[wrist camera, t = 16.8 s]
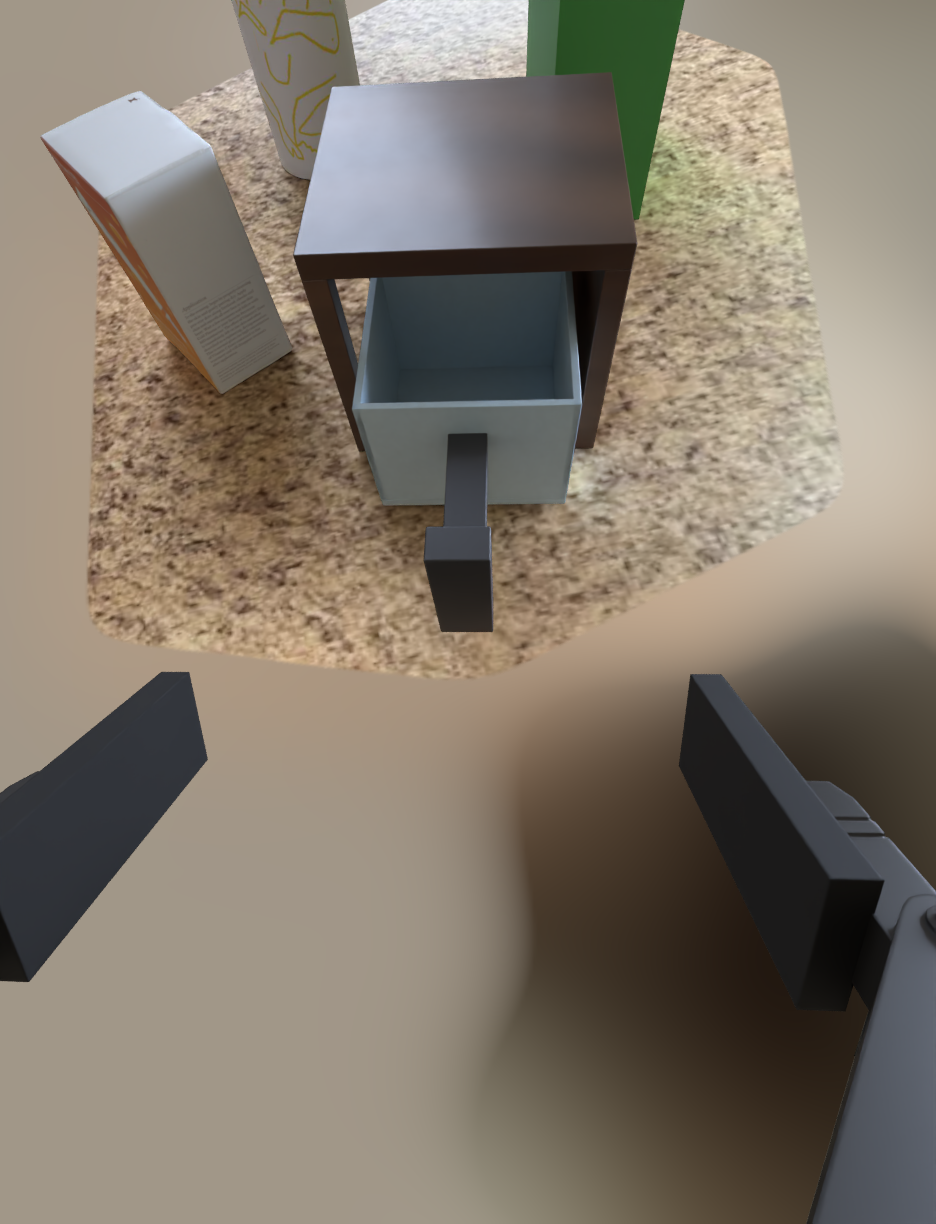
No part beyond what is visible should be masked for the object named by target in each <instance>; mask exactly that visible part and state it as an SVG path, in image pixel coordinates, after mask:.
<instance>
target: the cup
mask: <svg viewBox="0 0 936 1224" xmlns="http://www.w3.org/2000/svg"><path fill="white" fill-rule="evenodd" d="M231 1H232V4H233V7H234V11H235V14H236V17H237V20H238V24H239V27H240V30H241V33H242V37H243V40H244V43H245V46H246V50H247V53H248V56H249V59H250V63H251V66H252V69H253V72H254V76H255V79H256V82H257V85H258V89H259V92H260V95H261V98H262V102H263V105H264V108H265V111H266V115H267V118H268V121H269V125H270V128H271V131H272V134H273V138H274V141H275V144H276V147H277V151H278V154H279V157H280V160H281V163H282V166H283V167H284V169H285V170H286V171H287V172H289V173H290V174H292V175H294V176H296V177H299V178H303V179H309V180H311V176H312V171H313V167H314V163H315V158H316V154H317V150H318V145H319V141H320V137H321V132H322V128H323V124H324V119H325V115H326V111H327V106H328V102H329V97H330V93H331V89H332V87H342V86H360V83H359V77H358V72H357V66H356V61H355V55H354V49H353V44H352V38H351V32H350V27H349V21H348V16H347V10H346V4H345V0H231Z"/></svg>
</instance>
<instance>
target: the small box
mask: <svg viewBox="0 0 936 1224" xmlns="http://www.w3.org/2000/svg"><path fill="white" fill-rule="evenodd" d="M41 140H42V141H43V143H44V144H45V146H46V148H47V149H48V151H49V152H50V154H51V155H52V157H53V158H54V160H55V161H56V163H57V165H58V166H59V168H60V169H61V171H62V173H63V174H64V176H65V177H66V179H67V180H68V182H69V184H70V185H71V187H72V188H73V190H74V191H75V193H76V195H77V196H78V198H79V199H80V201H81V203H82V204H83V206H84V208H85V209H86V211H87V212H88V214H89V216H90V217H91V219H92V220H93V222H94V224H95V225H96V227H97V228H98V230H99V232H100V233H101V235H102V236H103V238H104V240H105V241H106V243H107V244H108V246H109V248H110V249H111V251H112V252H113V254H114V255H115V257H116V259H117V260H118V262H119V263H120V265H121V266H122V268H123V270H124V271H125V273H126V274H127V276H128V278H129V279H130V281H131V282H132V284H133V285H134V287H135V289H136V290H137V292H138V294H139V295H140V297H141V299H142V300H143V302H144V304H145V305H146V307H147V309H148V310H149V312H150V313H151V315H152V317H153V318H154V320H155V321H156V323H157V325H158V326H159V328H160V329H161V331H162V332H163V334H164V336H165V337H166V338H167V339H168V340H169V341H170V342H171V343H173V344H174V345H175V346H176V347H177V348H178V349H179V350H180V351H181V352H182V353H183V355H184V356H185V357H186V358H187V359H188V360H189V361H190V362H191V363H192V364H193V365H194V366H195V367H196V368H197V369H198V370H199V371H200V372H201V374H202V375H203V376H204V377H205V378H206V379H207V380H208V381H209V382H210V383H211V384H212V386H213V387H214V388H215V389H216V390H217V391H218V392H219V393H221V394H224V393H225V392H227V391H228V390H230V389H231V388H233V387H235V386H236V385H238V384H239V383H241V382H243V381H244V380H246V379H247V378H249V377H250V376H252V375H254V374H255V373H257V372H259V371H260V370H262V369H263V368H265V367H267V366H268V365H270V364H272V363H273V362H275V361H276V360H278V359H280V358H281V357H283V356H284V355H286V354H287V353H289V352H290V351H292V346H291V343H290V341H289V338H288V336H287V334H286V331H285V329H284V326H283V324H282V321H281V319H280V316H279V314H278V312H277V309H276V307H275V304H274V302H273V299H272V297H271V294H270V292H269V289H268V287H267V284H266V282H265V279H264V277H263V274H262V272H261V269H260V266H259V264H258V261H257V259H256V257H255V254H254V252H253V249H252V247H251V244H250V242H249V240H248V237H247V235H246V232H245V230H244V227H243V225H242V222H241V220H240V217H239V215H238V212H237V210H236V207H235V205H234V202H233V200H232V197H231V195H230V192H229V190H228V187H227V185H226V182H225V180H224V177H223V175H222V173H221V170H220V168H219V165H218V163H217V160H216V158H215V155H214V153H213V150H212V148H211V146H210V145H209V144H208V143H207V142H206V141H204V140H203V139H202V138H201V137H199V136H198V135H197V134H196V133H195V132H193V131H192V130H191V129H190V128H188V127H187V126H186V125H185V124H184V123H183V122H182V121H181V120H180V119H179V118H178V117H176V116H175V115H174V114H173V113H171V112H169V111H168V110H166V109H164V108H163V107H161V106H160V105H159V104H157V103H156V102H155V101H153V100H152V99H151V98H149V97H148V96H147V95H145V94H144V93H143V92H142V91H138V92H134V93H132V94H129V95H126V96H124V97H121V98H119V99H117V100H114V101H112V102H110V103H108V104H106V105H103V106H101V107H99V108H97V109H95V110H92V111H90V112H88V113H86V114H84V115H82V116H79V117H78V118H76V119H74V120H71V121H69V122H67V123H65V124H63V125H61V126H59V127H57V128H55V129H53V130H51V131H49V132H47V133H45V134H43V135H41Z"/></svg>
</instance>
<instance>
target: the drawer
mask: <svg viewBox="0 0 936 1224" xmlns="http://www.w3.org/2000/svg"><path fill="white" fill-rule="evenodd" d="M581 408H582V398H581V385H580V371H579V358H578V345H577V331H576V318H575V305H574V292H573V278H572V271H565V272H535V273H504V274H474V275H444V276H414V277H384V278H370V285H369V292H368V299H367V306H366V313H365V321H364V328H363V335H362V342H361V349H360V356H359V363H358V370H357V377H356V384H355V391H354V398H353V406H352V411H353V414H354V417H355V420H356V423H357V427H358V430H359V433H360V436H361V439H362V442H363V445H364V448H365V452H366V455H367V458H368V461H369V464H370V467H371V470H372V473H373V477H374V480H375V483H376V486H377V489H378V492H379V495H380V498H381V501H382V504H383V505H444V524H443V527H426V531H425V547H424V564H425V568H426V572H427V576H428V580H429V584H430V588H431V592H432V596H433V600H434V604H435V608H436V613H437V617H438V621H439V625H440V629H441V632H493V577H492V543H491V527H489V526H487V504H564V503H565V500H566V495H567V489H568V483H569V478H570V472H571V466H572V460H573V454H574V448H575V443H576V437H577V431H578V425H579V419H580V414H581Z"/></svg>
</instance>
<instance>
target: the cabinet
mask: <svg viewBox="0 0 936 1224" xmlns="http://www.w3.org/2000/svg"><path fill="white" fill-rule="evenodd" d="M636 247H637V238H636V232H635V225H634V218H633V212H632V205H631V198H630V192H629V185H628V178H627V172H626V165H625V158H624V152H623V145H622V139H621V132H620V125H619V119H618V112H617V105H616V99H615V92H614V85H613V79H612V73H611V72H607V73H588V74H569V75H550V76H531V77H512V78H493V79H475V80H456V81H437V82H418V83H399V84H380V85H361V86H342V87H332V89H331V93H330V97H329V102H328V106H327V111H326V115H325V119H324V124H323V128H322V132H321V137H320V141H319V145H318V150H317V154H316V158H315V163H314V167H313V171H312V176H311V180H310V185H309V189H308V193H307V198H306V202H305V206H304V211H303V215H302V219H301V224H300V228H299V232H298V237H297V241H296V246H295V250H294V254H293V256H294V259H295V262H296V265H297V268H298V271H299V274H300V277H301V280H302V283H303V286H304V289H305V292H306V295H307V298H308V301H309V304H310V307H311V310H312V313H313V316H314V319H315V322H316V325H317V328H318V331H319V334H320V337H321V340H322V343H323V346H324V349H325V352H326V355H327V358H328V361H329V364H330V367H331V370H332V373H333V376H334V379H335V382H336V385H337V388H338V391H339V393H340V396H341V399H342V402H343V405H344V408H345V411H346V414H347V417H348V420H349V423H350V426H351V429H352V432H353V435H354V438H355V441H356V444H357V447H358V450H359V451H365V448H364V445H363V442H362V439H361V436H360V433H359V430H358V427H357V423H356V420H355V417H354V414H353V411H352V406H353V398H354V391H355V384H356V377H357V370H358V362H357V358H356V355H355V351H354V348H353V344H352V341H351V337H350V333H349V330H348V326H347V323H346V319H345V316H344V312H343V308H342V305H341V301H340V298H339V294H338V291H337V287H336V283H335V280H334V279H354V278H369V280H370V278H384V277H414V276H444V275H474V274H504V273H535V272H565V271H572V278H573V292H574V305H575V318H576V331H577V345H578V358H579V371H580V385H581V398H582V408H581V414H580V419H579V425H578V431H577V437H576V443H575V448H593V447H594V442H595V437H596V433H597V428H598V423H599V419H600V414H601V409H602V405H603V400H604V395H605V391H606V386H607V382H608V377H609V372H610V368H611V363H612V358H613V354H614V349H615V344H616V340H617V335H618V331H619V326H620V321H621V317H622V312H623V307H624V303H625V298H626V293H627V289H628V284H629V279H630V275H631V269H632V266H633V261H634V256H635V252H636Z"/></svg>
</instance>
